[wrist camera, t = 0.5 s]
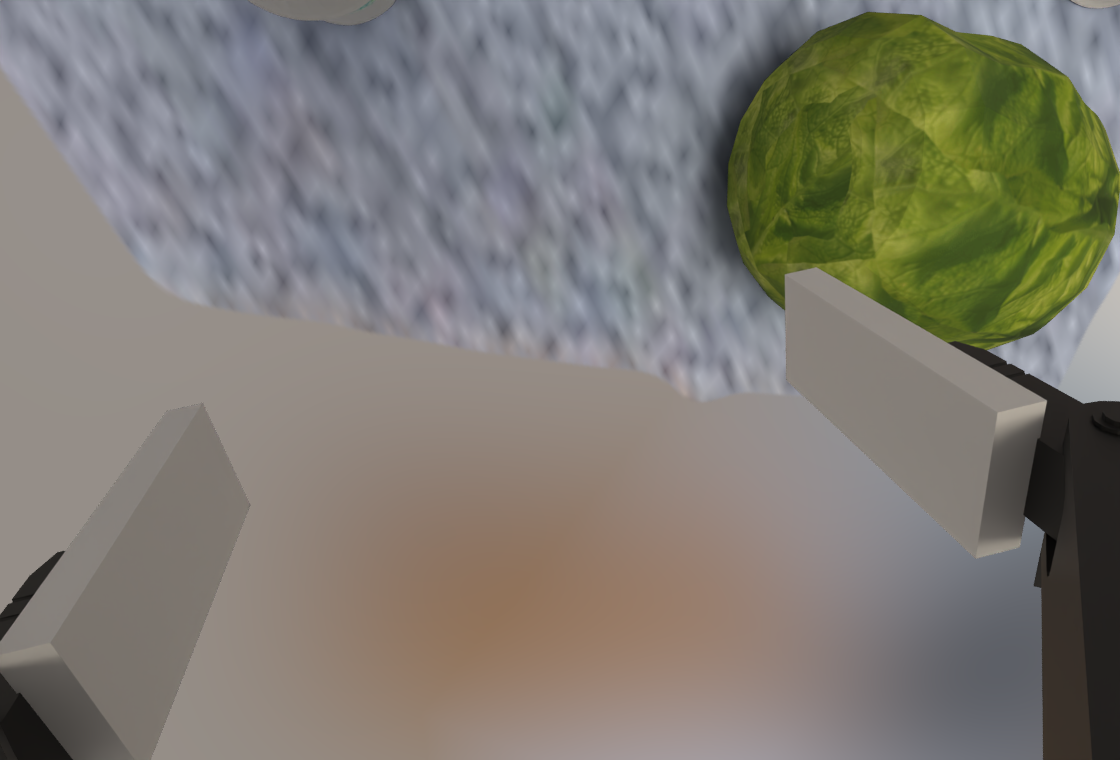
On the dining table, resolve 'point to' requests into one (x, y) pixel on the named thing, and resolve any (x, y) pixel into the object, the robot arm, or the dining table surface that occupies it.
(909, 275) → the lettuce
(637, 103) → the dining table surface
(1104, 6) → the mug
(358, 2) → the bottle
